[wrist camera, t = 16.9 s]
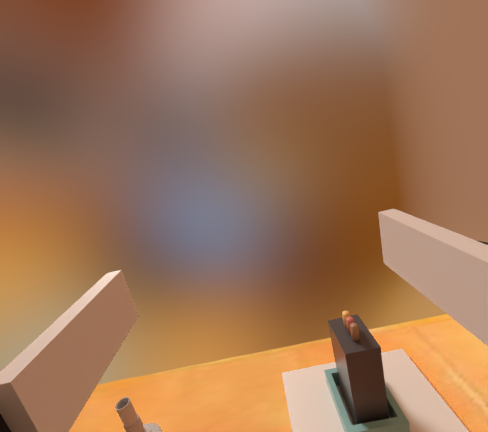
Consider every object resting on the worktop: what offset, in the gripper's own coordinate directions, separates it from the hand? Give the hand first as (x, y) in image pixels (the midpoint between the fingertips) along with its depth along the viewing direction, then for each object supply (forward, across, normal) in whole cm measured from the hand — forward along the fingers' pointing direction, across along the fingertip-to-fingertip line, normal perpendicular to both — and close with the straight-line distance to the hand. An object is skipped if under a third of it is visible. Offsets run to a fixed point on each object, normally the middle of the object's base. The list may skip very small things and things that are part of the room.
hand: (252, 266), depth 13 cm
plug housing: (+16, +9, -31) cm, 36 cm away
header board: (+16, +9, -32) cm, 37 cm away
